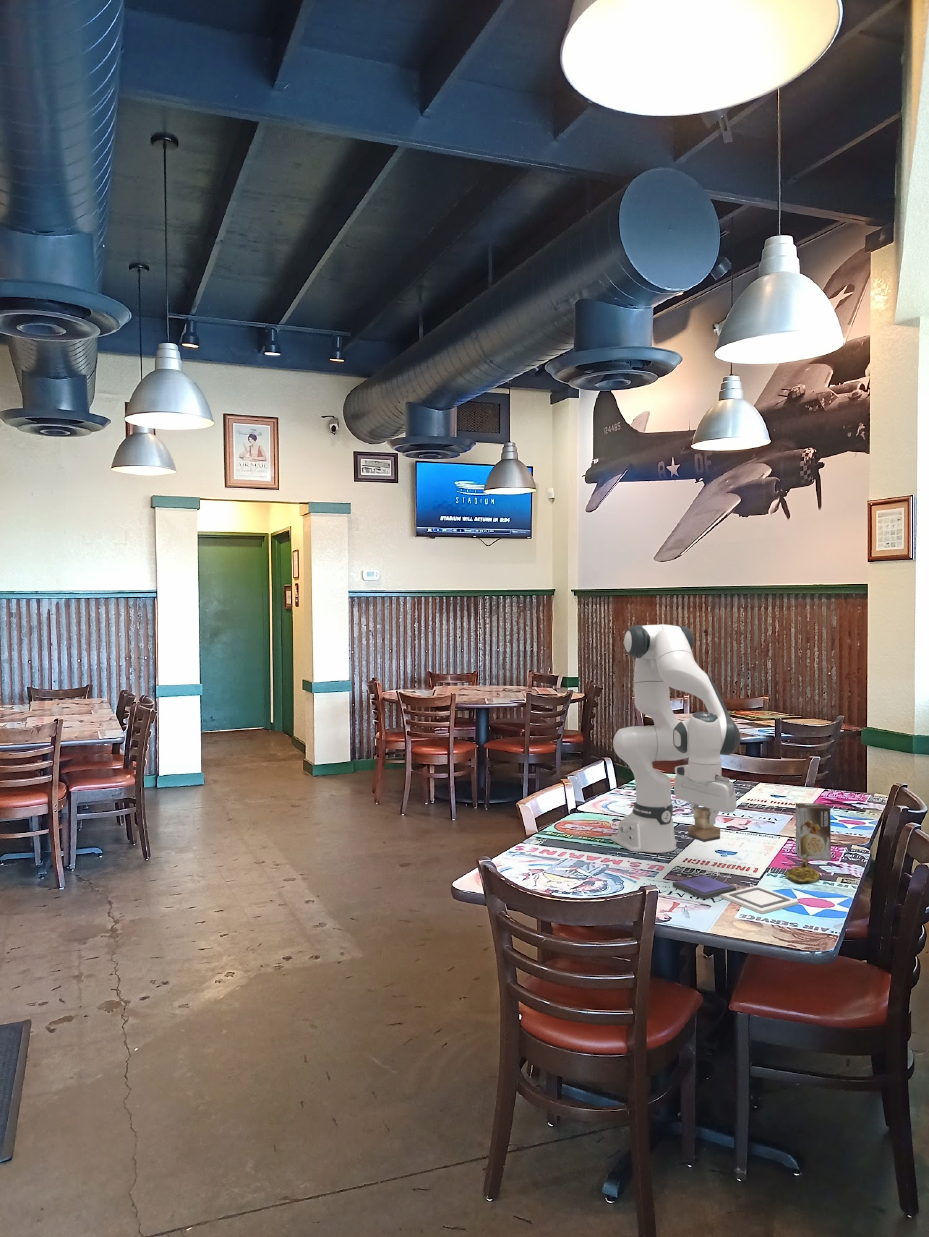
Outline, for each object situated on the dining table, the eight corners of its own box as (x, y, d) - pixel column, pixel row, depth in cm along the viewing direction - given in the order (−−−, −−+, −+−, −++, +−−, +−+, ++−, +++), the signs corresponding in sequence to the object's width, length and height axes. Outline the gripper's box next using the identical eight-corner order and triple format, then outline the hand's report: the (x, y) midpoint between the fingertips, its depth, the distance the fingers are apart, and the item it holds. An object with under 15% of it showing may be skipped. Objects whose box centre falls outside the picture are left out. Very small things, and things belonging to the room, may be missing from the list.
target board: (720, 897, 234) (720, 893, 234) (757, 888, 241) (757, 884, 241) (761, 914, 222) (762, 910, 222) (799, 904, 229) (799, 900, 229)
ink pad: (672, 886, 243) (672, 881, 243) (704, 879, 249) (704, 874, 249) (704, 899, 233) (704, 894, 233) (736, 891, 239) (736, 886, 239)
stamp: (688, 836, 242) (688, 808, 241) (704, 833, 244) (704, 805, 244) (704, 842, 236) (704, 813, 236) (720, 838, 239) (720, 810, 239)
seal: (817, 891, 242) (820, 875, 256) (819, 875, 242) (823, 859, 255) (782, 883, 246) (787, 867, 260) (784, 867, 246) (789, 852, 259)
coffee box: (825, 854, 272) (826, 803, 271) (831, 860, 265) (831, 808, 265) (794, 853, 273) (795, 802, 272) (799, 859, 267) (800, 807, 266)
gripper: (742, 777, 232) (741, 829, 233) (686, 764, 250) (686, 812, 251) (725, 780, 229) (724, 832, 230) (670, 766, 247) (670, 815, 247)
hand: (704, 821), depth 240 cm, fingers closed on stamp, 4 cm apart
